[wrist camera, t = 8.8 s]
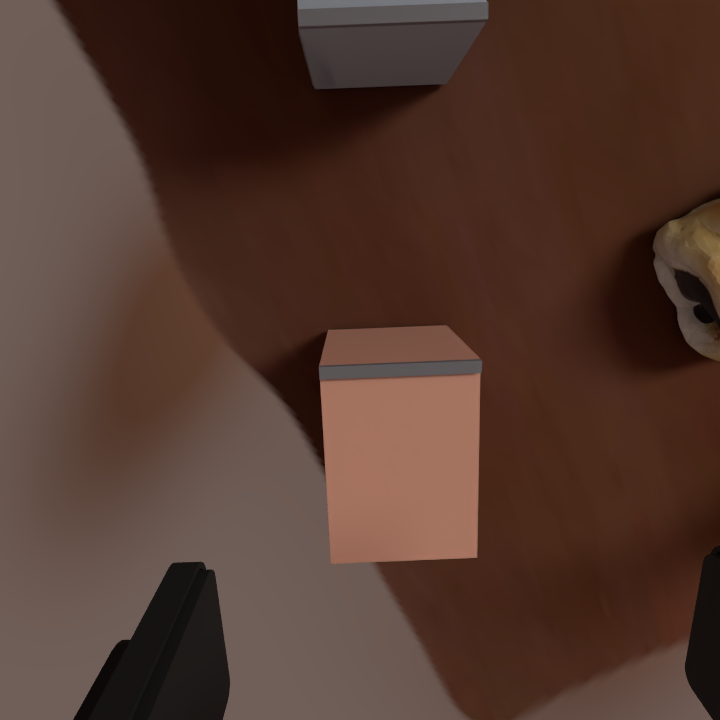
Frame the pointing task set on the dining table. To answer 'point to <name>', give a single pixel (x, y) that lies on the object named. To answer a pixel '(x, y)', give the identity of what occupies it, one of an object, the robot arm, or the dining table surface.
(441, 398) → the stub
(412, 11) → the block
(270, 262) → the dining table surface
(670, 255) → the pastry
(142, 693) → the robot arm
